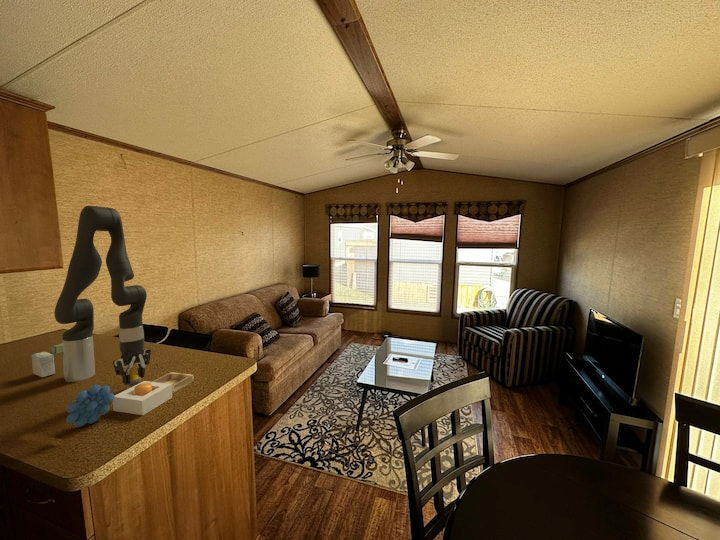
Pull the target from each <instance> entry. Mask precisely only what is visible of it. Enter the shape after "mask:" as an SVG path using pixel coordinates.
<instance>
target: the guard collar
mask: <svg viewBox="0 0 720 540" xmlns="http://www.w3.org/2000/svg"><path fill="white" fill-rule="evenodd" d="M143 383H151V384H152V391H151V392H150V393H148V394H146V395H144V396H137V395H135V390H134V388H135V386H137V385H139V384H143ZM137 385H135V386H133V387H128V388H127V389H125V390H122V391H120V392H119V393H117V394H115V395H114V398H113V400H112V410H113V411H114V412H119V413H125V414H133V415H138V416H144V415H146V414H148V413H149V412H151V411H153V410H154V409H156V408H157V407H159V406H161V405H162V404H164V403H166V402H168V400H170V399H172V398H173V394H172V384H165V383H157V382H152V381H150V380H144V381H141V382H138V384H137Z"/></svg>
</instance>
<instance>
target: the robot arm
mask: <svg viewBox="0 0 720 540" xmlns="http://www.w3.org/2000/svg"><path fill="white" fill-rule="evenodd" d="M96 232H108V234H109V236H110V237H109V238H110V245H109V249H108V251H107V253H106V257H105V265H106V268H107V271H108V273H109V277H110V284H111V289H110V297H111V301H112V302H113V304H115V305H116V306H118V307H124V306H129V308H128V309H126V310H124V311H122V312H120V313H119V315H118V322H119V331H118V339H119V351H120V354H121V356H120V358H119V359H117V360H113V361H112V365H113V368H114V372H115V375H116V376H122V378H121V379H122V380H121V381H122V383H123V384H126V385H125V386H129V385H128V384H130V374H129V373H130V369H131V368H133V366H134V365H135V364H136V366H137V374H138V376H139V377H141V379H142V378H144V377H145V374H146V370H145V368H146V366H148V365H149V364H150V361H151V354H152V350H151V349H150V348H145V331H144V327H143V312H144V309H145V306H146V301H147V290H146V288H145V287H144V286H142V285H138V284H136V285H128V286H125V283H126V282H128V281H131V280H133V279H134V277H135V274H134V270H133V267H132V265H131V261H130V259H129V257H128V256H129V255H128V252H127V247H126V241H125V240H126V239H125V233H124V232H125V231H124V226H123V221H122V217H121V215H120V213H119V212H118V210H117V209H116V208H112V207H107V206H106V207H105V206H99V205H97V206H95V205H86V206H84V207H83V208H82V209H81V211H80V213H79V219H78V226H77V230H76V238H75V243H74V247H73V251H72V254H71V258H70V261H69V265H68V268H67V273H66V277H65V280H64V285H63V288H62V290H61V293H60V294H59V297H58V299H57V301H56V304H55V307H54V313H53V314H54V319H55V321H56V322H57V323H59V324H61V325H67V324H74V323H75V324H74V325H73V326H72V327H70V328H69V329H67V330H65V331H64V332H63V333H62V336H61V339H62V343H63V357H62V365H63V366H62V368H63V380H65V382H67V383H74V382H80V381H85V380H87V379H89V378H92V377H94V376H95V375H96V368H95V367H96V364H95V349H94V348H95V347H94V337H93V332H94V328H95V327H94V324H95V323H94V320H95V319H94V317H95V316H94V315H95V311H94V305H93V302H91V300H90V299H89V298H79V297H80V295H81V294H82V293H83V292H84V291H85V290H86V289H87V288H89V286H90V285H92V284H93V283H94V282H95V281H96V279H98V277H99V274H100V271H101V267H102V264H103V260H102V256H101V255H100V252H99V251H98V250H97V248H96V246H95V244H94V238H95V234H96ZM128 365H129V366H128Z"/></svg>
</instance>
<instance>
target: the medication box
mask: <svg viewBox="0 0 720 540" xmlns="http://www.w3.org/2000/svg"><path fill="white" fill-rule="evenodd" d="M62 352H63V353H64V351H63V342H62V343H59V344H55V345H52V346H51V354H53V355H57V354H60V353H62Z"/></svg>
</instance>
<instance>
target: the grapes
mask: <svg viewBox="0 0 720 540" xmlns="http://www.w3.org/2000/svg"><path fill="white" fill-rule="evenodd" d="M111 389H112V388H111V386H109V385H104V386H102V387H101V385H100V384H94V385H91V387H90V388H89V389H88V390H81V391H80V392H78V393H77V394H76V396H75V400H74V401H72V402H71V403H69V404H68V405H67V408H66V412H67V413H69V414H68V415H67V416H66V420H65V421H66V423H67V424H72V423H73V424H74V427H75V428H81V427H83V426H85V425H86V424H87V423H88V424H94V423H96V422H97V421H99V418H100V415H104V414H107V412H108V411H109V409H110V407H111V405H110V404H109V403H111V402H113V398H114V396H115V395H114V393H112V392H111Z"/></svg>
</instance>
